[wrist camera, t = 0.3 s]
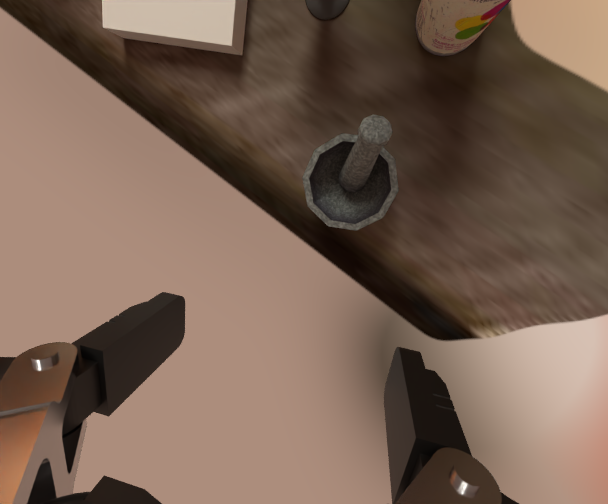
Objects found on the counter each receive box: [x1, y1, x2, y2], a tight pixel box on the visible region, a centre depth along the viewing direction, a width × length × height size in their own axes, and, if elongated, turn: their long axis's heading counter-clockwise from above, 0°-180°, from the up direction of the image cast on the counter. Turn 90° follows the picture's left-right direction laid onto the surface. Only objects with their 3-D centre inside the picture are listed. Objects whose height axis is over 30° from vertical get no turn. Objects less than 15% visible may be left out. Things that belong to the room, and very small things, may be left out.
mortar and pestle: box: [302, 115, 399, 231], centre depth 31 cm, size 11×9×12 cm
